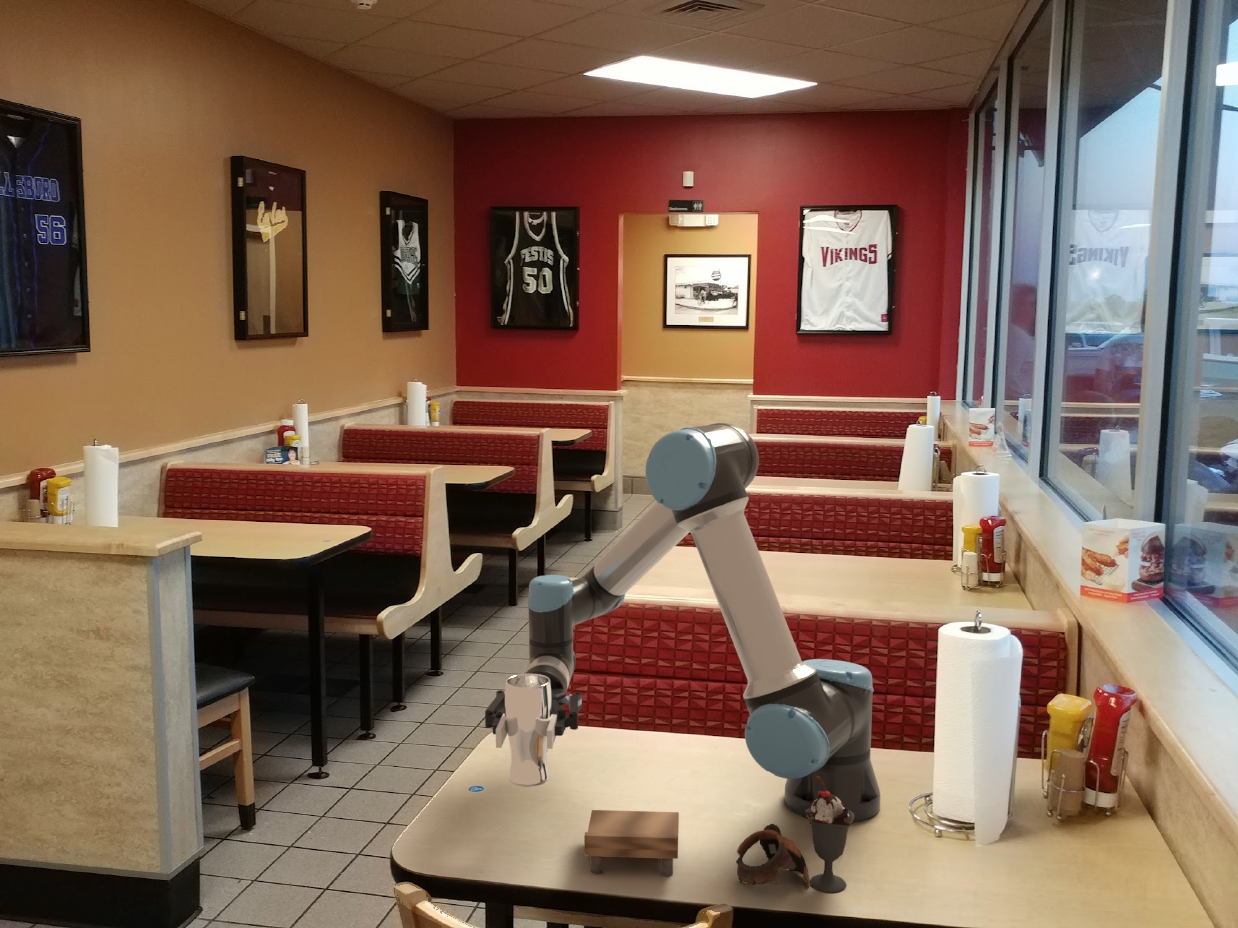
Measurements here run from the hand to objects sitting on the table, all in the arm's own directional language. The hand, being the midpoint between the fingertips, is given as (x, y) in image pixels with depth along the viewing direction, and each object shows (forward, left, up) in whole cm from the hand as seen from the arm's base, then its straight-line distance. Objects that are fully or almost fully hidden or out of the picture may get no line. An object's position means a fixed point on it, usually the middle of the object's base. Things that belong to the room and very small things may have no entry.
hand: (523, 738), depth 158 cm
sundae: (-43, +5, -18) cm, 47 cm away
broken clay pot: (-35, +4, -18) cm, 40 cm away
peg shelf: (-16, -1, -18) cm, 24 cm away
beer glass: (0, -5, -8) cm, 10 cm away
